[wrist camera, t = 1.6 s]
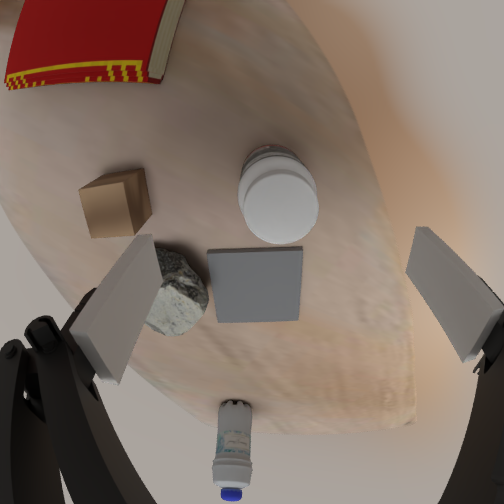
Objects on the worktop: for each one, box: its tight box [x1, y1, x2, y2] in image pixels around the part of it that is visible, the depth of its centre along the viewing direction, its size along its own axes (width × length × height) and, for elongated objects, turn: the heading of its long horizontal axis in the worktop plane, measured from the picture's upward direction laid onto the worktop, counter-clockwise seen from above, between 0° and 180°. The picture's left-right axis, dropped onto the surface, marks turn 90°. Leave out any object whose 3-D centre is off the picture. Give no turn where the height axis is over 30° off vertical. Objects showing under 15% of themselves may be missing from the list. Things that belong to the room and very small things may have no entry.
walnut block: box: [79, 168, 152, 238], centre depth 24 cm, size 5×5×5 cm
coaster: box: [207, 247, 303, 323], centre depth 31 cm, size 10×10×1 cm
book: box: [4, 0, 185, 90], centre depth 15 cm, size 18×13×5 cm
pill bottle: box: [238, 145, 319, 244], centre depth 21 cm, size 6×6×10 cm
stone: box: [144, 248, 209, 336], centre depth 28 cm, size 10×10×10 cm
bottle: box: [212, 401, 252, 501], centre depth 38 cm, size 7×7×20 cm
